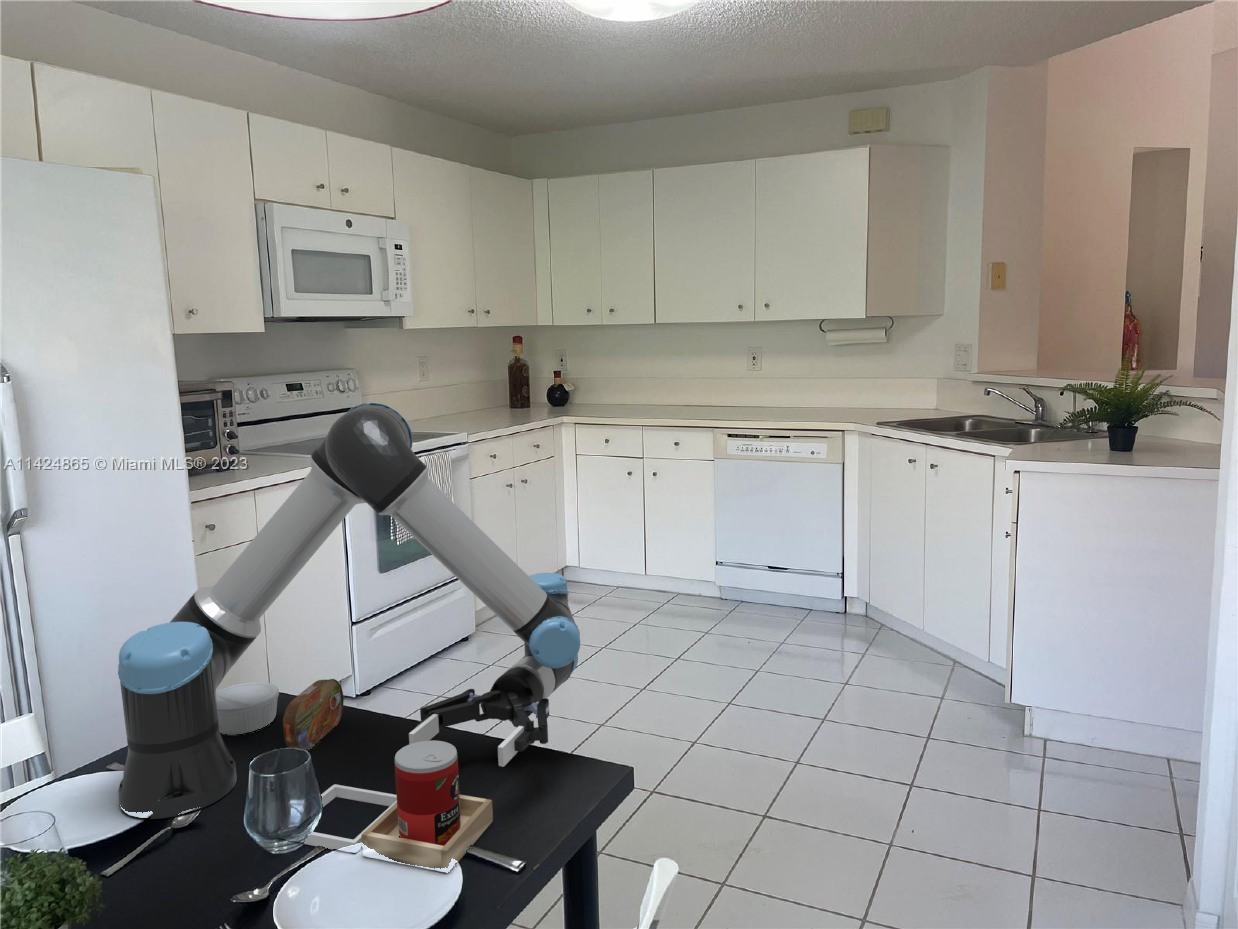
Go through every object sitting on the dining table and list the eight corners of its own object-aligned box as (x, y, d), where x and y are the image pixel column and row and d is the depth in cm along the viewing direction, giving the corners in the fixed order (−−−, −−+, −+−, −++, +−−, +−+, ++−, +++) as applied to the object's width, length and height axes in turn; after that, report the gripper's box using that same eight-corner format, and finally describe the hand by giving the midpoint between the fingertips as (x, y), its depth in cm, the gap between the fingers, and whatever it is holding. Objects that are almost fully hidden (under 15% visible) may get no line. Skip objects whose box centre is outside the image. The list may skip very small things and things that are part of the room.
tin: (300, 760, 134) (295, 709, 133) (281, 759, 135) (277, 707, 133) (346, 718, 149) (343, 671, 147) (329, 717, 149) (326, 670, 148)
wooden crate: (362, 856, 109) (361, 834, 108) (414, 807, 120) (413, 786, 119) (447, 873, 105) (446, 851, 104) (493, 821, 116) (492, 800, 116)
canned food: (447, 854, 108) (443, 770, 106) (388, 847, 109) (383, 765, 108) (470, 820, 115) (466, 742, 114) (413, 814, 117) (409, 737, 115)
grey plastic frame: (279, 839, 113) (278, 828, 113) (335, 794, 124) (334, 784, 124) (355, 854, 109) (354, 843, 109) (406, 806, 120) (405, 796, 120)
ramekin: (196, 740, 142) (193, 709, 141) (225, 711, 153) (223, 682, 152) (266, 738, 142) (263, 707, 141) (290, 709, 153) (287, 680, 152)
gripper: (597, 721, 134) (540, 789, 114) (454, 702, 142) (378, 763, 122) (596, 674, 133) (538, 735, 113) (451, 658, 141) (374, 712, 121)
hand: (455, 750), depth 117 cm, fingers open, 13 cm apart
